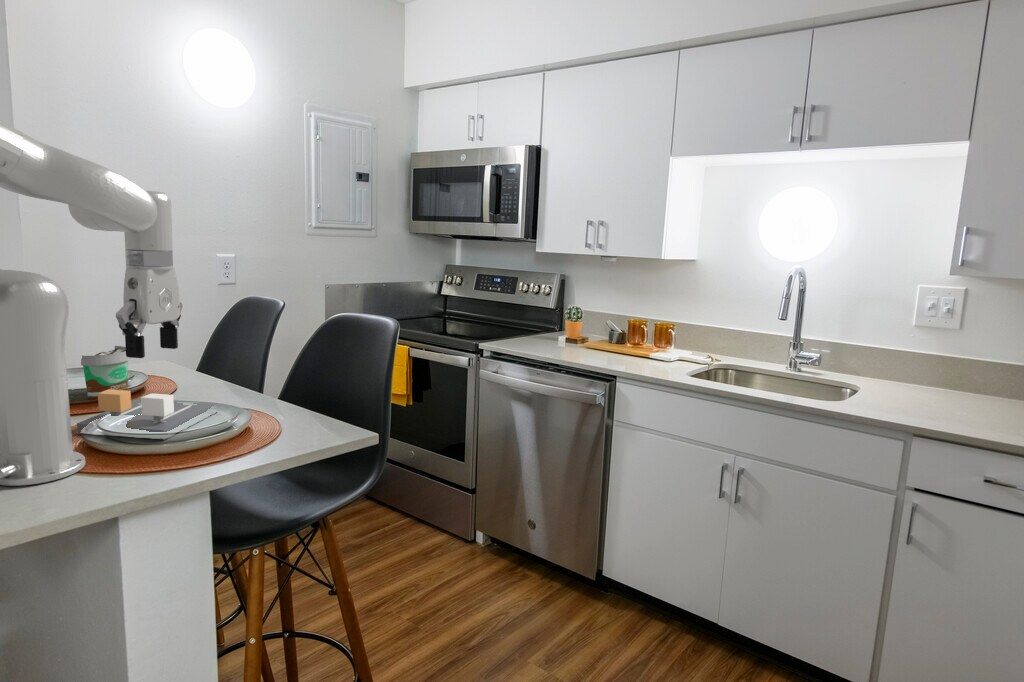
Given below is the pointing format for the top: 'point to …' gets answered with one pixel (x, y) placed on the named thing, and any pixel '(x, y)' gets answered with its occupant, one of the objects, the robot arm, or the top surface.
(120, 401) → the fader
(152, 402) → the fader
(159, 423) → the panel
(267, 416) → the top surface
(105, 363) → the food container
